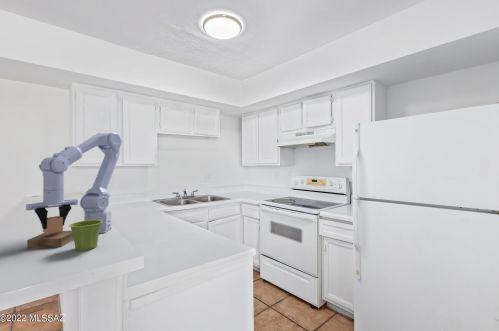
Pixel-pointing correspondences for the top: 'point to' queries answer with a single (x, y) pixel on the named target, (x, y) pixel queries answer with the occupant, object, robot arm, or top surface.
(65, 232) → the walnut plinth
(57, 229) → the terracotta block
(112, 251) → the top surface
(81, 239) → the plant pot
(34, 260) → the top surface
